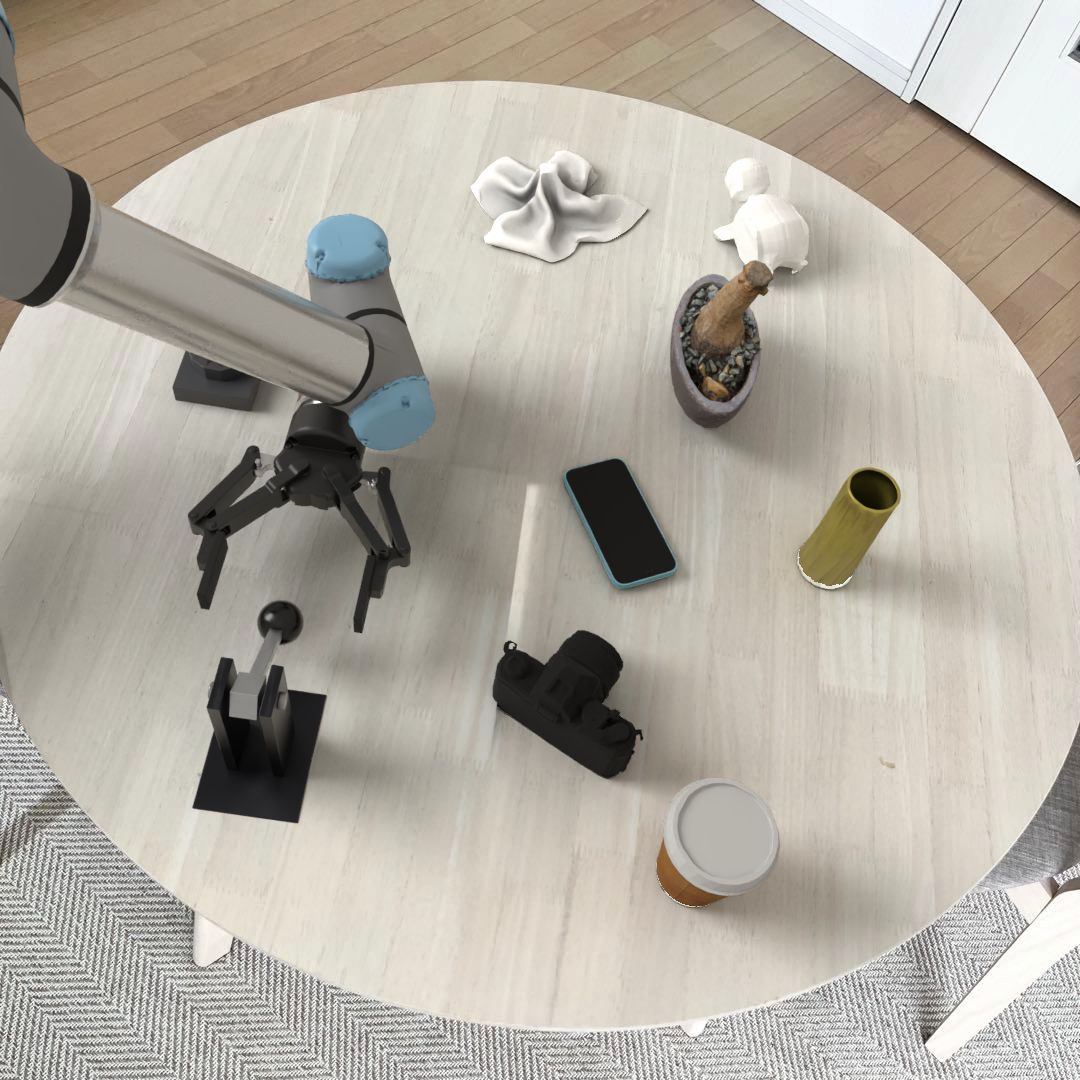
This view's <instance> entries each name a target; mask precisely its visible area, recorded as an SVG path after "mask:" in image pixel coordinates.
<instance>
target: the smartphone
mask: <svg viewBox="0 0 1080 1080" xmlns="http://www.w3.org/2000/svg"><path fill="white" fill-rule="evenodd" d="M563 484H564V487H565V489H566V491H567V493H568V495H569V497H570V499H571V501H572V503H573V505H574V508H575V509H576V511H577V513H578V515H579V517H580V520H581V522H582V524H583V527H584V528H585V530H586V532H587V534H588V536H589V539H590V540H591V543H592V545H593V547H594V549H595V551H596V553H597V555H598V557H599V559H600V562H601V564H602V565H603V567H604V570H605V572H606V574H607V576H608V578H609V581H610V582H611V584H612V585H613V586H614V587H615V588H617V589H619V590H628V589H630V588H634V587H637V586H641V585H643V584H647V583H650V582H653V581H657V580H658V581H659V580H660V579H664V578H668V577H671V576H673V575H674V574H675V573H676V571H677V568H678V561H677V558H676V556H675V554H674V552H673V550H672V549H671V546H670V544H669V543H668V541H667V539H666V537H665V535H664V533H663V531H662V530H661V528H660V525H659V524H658V522H657V520H656V518H655V515H654V514H653V512H652V510H651V508H650V507H649V505H648V503H647V500H646V499H645V497H644V495H643V492H642V491H641V489H640V487H639V485H638V483H637V481H636V479H635V477H634V476H633V474H632V471H631V470H630V468H629V465H628V464H627V463H626V460H625V461H624V459H622V458H620V457H610V458H607V459H603V460H599V461H595V462H592V463H587V464H584V465H580V466H576V467H572V468H569V469H567V470H566V471H565V472H564V475H563Z"/></svg>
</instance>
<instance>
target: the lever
mask: <svg viewBox="0 0 1080 1080" xmlns="http://www.w3.org/2000/svg"><path fill="white" fill-rule="evenodd" d="M304 625H305V619H304V615H303V613H302V611H301V609H300V608H299V606H297V605H296V604H295V603H294V602H292V601H289V600H286V599H276V600H273V601H270V602H268V603H266V604H265V605H264V606H263V607H262V609H261V610H260V611H259V613H258V616H257V620H256V626H257V631H258V633H259V635H260V637H261V638H262V639H263V641H262V644H261V647H260V648H259V651H258V653H257V655H256V657H255V659H254V662H253V664H252V666H251V668H250V671H249V672H244V671H239V672H238V673H237V675H238V676H237V678H236V680H235V682H234V684H233V686H232V688H231V691H230V702H229V716H230V717H237V718H244V719H251V720H257V718H258V716H259V711H260V707H261V703H262V699H263V696H264V692H265V688H266V684H267V680H268V675H267V674H268V672H269V670H270V668H271V665H272V663H273V660H274V658H275V655H276V653H277V651H278V649H279V646H286V645H290V644H292V643H294V641H296V640H297V639H298V638H299V637H300V636H301V634H302V632H303V631H304Z"/></svg>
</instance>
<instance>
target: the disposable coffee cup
mask: <svg viewBox="0 0 1080 1080" xmlns="http://www.w3.org/2000/svg"><path fill="white" fill-rule="evenodd" d="M662 832H663V833H662V834H663V838H662V842H661V844H660V845H661V846H660V847H659V852H658V856H657V858H658V859H656V862H657V874H656V876H657V875H658V878H659V881H660V883H661V885H662V887H663V888H664V890H665V891H666V892H667V893H668V894H669V896H671V897H672V898H673V899H675V900H676V901H678V902H680V903H682V904H685V905H689V906H696V907H697V906H704V907H706V906H705V905H707V906H708V904H709V905H711V904H713V903H715V902H718V901H720V900H723V899H724V898H727V897H731V896H740V895H743V894H746V893H749V892H752V891H753V890H755V889H757V888H759V887H760V886H762V884H764V883H765V882H766V881H767V880H768V878H769V877H770V876H771V874H772V873H773V872H774V870H775V868H776V865H777V862H778V860H779V855H780V849H781V842H780V831H779V828H778V824H777V821H776V818H775V816H774V813H773V811H772V809H771V808H770V806H769V805H768V803H767V802H766V801H765V800H764V798H763V797H762V796H761V795H759V793H758V792H756V791H755V790H754V789H752V788H751V787H749V786H747V785H746V784H744V783H742V782H739V781H736V780H733V779H727V778H721V777H708V778H701V779H698V780H696V781H693V782H691V783H689V784H687V785H685V786H684V787H683V788H682V789H680V790H679V791H678V792H677V793H676V794H675V796H674V797H673V798H672V799H671V801H670V803H669V805H668V807H667V808H666V811H665V815H664V819H663V825H662ZM697 908H698V907H697Z"/></svg>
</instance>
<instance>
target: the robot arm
mask: <svg viewBox="0 0 1080 1080" xmlns="http://www.w3.org/2000/svg"><path fill="white" fill-rule="evenodd" d="M16 48H17V47H16V39H15V34H14V32H13V29H12V27H11V25H10V23H9V21H8V18H7V14H6V11H5V8H4V6H3V3H2V1H1V0H0V297H2V298H5V299H6V300H11V301H13V302H16V303H18V304H21V305H23V306H26V307H29V308H32V309H42V308H45V307H47V306H49V305H51V304H53V303H56V302H57V303H61V304H63V305H65V306H68V307H71V308H74V309H76V310H78V311H81V312H84V313H87V314H89V315H92V316H94V317H97V318H99V319H102V320H105V321H108V322H109V323H113V324H115V325H117V326H121V327H123V328H126V329H128V330H131V331H133V332H137V333H139V334H140V335H144V336H147V337H149V338H153V339H155V340H157V341H159V342H163V343H165V344H167V345H170V346H173V347H176V348H177V349H181V350H183V351H188V352H191V353H194V354H196V355H199V356H201V357H204V358H207V359H209V360H212V361H215V362H217V363H220V364H222V365H225V366H228V367H230V368H233V369H235V370H238V371H241V372H243V373H246V374H249V375H251V376H254V377H256V378H259V379H261V380H262V381H265V382H267V383H269V384H272V385H274V386H278V387H280V388H282V389H286V390H288V391H290V392H293V393H295V394H298V395H297V399H296V402H295V405H294V413H293V414H292V416H291V420H290V423H289V426H288V430H287V434H286V437H285V441H284V443H283V448H282V449H281V451H280V452H279V453H278V454H277V455H276V456H275V455H271V454H268V453H263V452H261V451H260V447H259V446H258V445H256V444H255V445H254V444H251V445H249V446H247V448H246V449H245V452H244V454H243V456H242V458H241V461H240V462H239V464H237V465H236V466H235V467H234V468H233V469H232V470H231V471H230V472H229V473H228V474H227V475H226V476H225V477H224V478H223V479H222V480H220V482H219V483H218V484H217V485H215V486H214V487H213V488H212V489H211V490H210V491H209V492H208V494H206V495H205V496H204V497H203V498H202V499H201V500H200V501H198V503H197V504H196V505H195V506H194V507H192V509H190V511H189V512H188V513H187V519H188V523H189V527H190V531H191V532H192V534H193V535H196V536H202V539H201V542H200V546H199V548H198V552H197V554H196V563H197V567H198V570H199V571H200V572H203V573H202V576H201V579H200V582H199V585H198V589H197V591H196V597H197V600H198V604H199V607H200V609H202V610H207V611H209V610H211V606H212V603H213V601H214V600H213V599H214V596H215V593H216V590H217V586H218V583H219V580H220V577H221V573H222V570H223V567H224V563H225V561H226V557H227V554H228V552H229V551H228V550H229V545H228V538H230V537H231V536H233V535H234V534H236V533H237V532H239V531H241V530H242V529H245V527H247V526H248V525H251V524H252V523H253V522H255V521H257V520H258V519H259V518H261V517H263V516H264V515H266V514H268V513H269V512H271V511H273V510H274V509H280V508H283V506H285V505H286V504H288V503H289V502H292V503H294V506H297V507H298V506H299V507H313V508H315V509H319V510H323V511H328V510H329V509H331V508H336V510H337V511H338V513H339V515H340V516H341V518H342V519H344V520H345V521H346V522H347V524H348V525H349V527H350V528H351V530H352V531H353V533H354V534H355V536H356V537H357V539H358V540H359V542H360V544H361V545H362V547H363V548H364V549H365V551H366V552H367V555H366V560H365V565H364V569H363V573H362V578H361V581H360V587H359V590H358V595H357V599H356V605H355V609H354V613H353V617H352V621H353V623H352V624H353V633H356V634H363V632H364V628H365V623H366V618H367V614H368V609H369V604H370V600H371V598H372V599H378V600H380V599H382V597H383V595H384V594H385V588H386V583H387V579H388V574H389V571H390V570H391V569H392V568H394V567H400V568H408V567H409V566H410V565H411V560H412V559H411V557H412V547H411V543H410V541H409V538H408V535H407V532H406V529H405V527H404V523H403V520H402V519H401V514H400V512H399V511H398V507H397V504H396V501H395V498H394V496H393V492H392V490H391V486H392V473H391V472H392V471H391V469H390V467H388V466H381V467H379V468H378V470H377V471H372V470H371V471H369V470H363V468H362V464H363V461H364V457H365V452H366V448H367V449H371V450H375V451H385V452H386V451H395V450H400V449H402V448H405V447H408V446H410V445H412V444H414V443H416V442H417V441H419V439H420V438H421V437H423V436H424V435H426V434H427V433H428V432H429V431H430V429H431V428H432V426H433V424H434V422H435V418H436V407H435V404H434V400H433V396H432V392H431V388H430V380H429V378H428V377H427V376H426V374H425V371H424V368H423V366H422V363H421V360H420V358H419V355H418V351H417V350H416V347H415V343H414V342H413V339H412V335H411V333H410V330H409V327H408V324H407V321H406V319H405V315H404V313H403V311H402V306H401V304H400V301H399V298H398V295H397V293H396V290H395V287H394V284H393V281H392V278H391V271H390V266H391V262H392V257H391V255H390V248H389V239H388V236H387V234H386V233H385V231H384V229H383V228H382V227H381V226H380V225H379V224H378V223H377V222H376V221H374V220H372V219H370V218H368V217H365V216H363V215H359V214H356V213H355V214H354V213H345V214H337V215H331V216H328V217H325V218H323V219H322V220H320V221H319V222H318V223H316V224H315V225H314V227H312V229H311V230H310V232H309V234H308V236H307V240H306V258H305V262H304V265H305V267H306V269H307V277H308V278H307V279H308V288H309V298H310V300H309V299H306V298H304V297H303V296H300V295H299V294H296V293H294V292H292V291H290V290H288V289H286V288H283V287H281V286H279V285H277V284H275V283H273V282H272V281H269V280H267V279H265V278H263V277H260V276H258V275H256V274H254V273H252V272H250V271H248V270H246V269H245V268H242V267H240V266H238V265H235V264H233V263H232V262H228V261H227V260H224V259H222V258H220V257H219V256H216V255H214V254H212V253H210V252H208V251H206V250H204V249H202V248H200V247H198V246H195V245H194V244H191V243H189V242H187V241H185V240H182V239H180V238H178V237H177V236H175V235H172V234H170V233H168V232H166V231H164V230H161V229H160V228H157V227H155V226H153V225H151V224H149V223H147V222H145V221H143V220H141V219H139V218H137V217H134V216H132V215H130V214H128V213H126V212H123V211H122V210H120V209H118V208H115V207H114V206H111V205H109V204H107V203H105V202H103V201H101V200H98V199H96V196H95V192H94V190H93V188H92V185H91V183H90V182H89V181H88V179H87V178H85V176H83V175H81V174H80V173H77V172H75V171H73V170H71V169H69V168H67V167H64V166H63V165H61V164H59V163H57V162H55V161H53V160H52V159H51V158H50V157H49V156H47V155H46V153H44V152H43V151H42V150H41V148H39V146H38V145H37V144H36V143H35V142H34V140H33V139H32V138H31V136H30V135H29V133H28V132H27V128H26V119H25V113H24V108H23V107H24V106H23V102H22V95H21V89H20V85H19V84H20V83H19V79H18V73H17V67H16V61H15V57H16ZM268 471H274V474H275V475H273V476H271V477H270V478H269V479H267V480H266V482H265V484H264V485H262V486H261V487H259V488H258V489H256V490H255V491H253V492H251V493H250V494H248V495H246V496H245V497H243V498H242V499H240V497H242V495H243V494H244V493H246V491H248V489H250V488H251V486H252V485H254V483H255V482H256V480H257V478H260V479H261V478H263V476H264V475H265V474H266V473H267V472H268ZM362 486H365V487H367V489H368V492H369V494H371V495H372V496H373V497H376V503H377V508H378V510H379V514H380V516H381V519H382V522H383V525H384V528H385V530H386V533H387V536H388V540H389V542H390V544H386V542H385V540H384V539H383V537H382V536H381V534H380V532H379V531H378V529H376V527H375V526H374V524H373V522H372V521H371V519H370V518H369V516H368V515H367V514H366V512H365V510H364V509H363V508H362V506H361V505H360V503H359V501H358V500H357V498H356V495H355V492H356V491H357V490H359V489H360V488H361V487H362ZM238 499H240V500H238ZM237 500H238V501H237ZM236 501H237V502H236Z"/></svg>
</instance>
